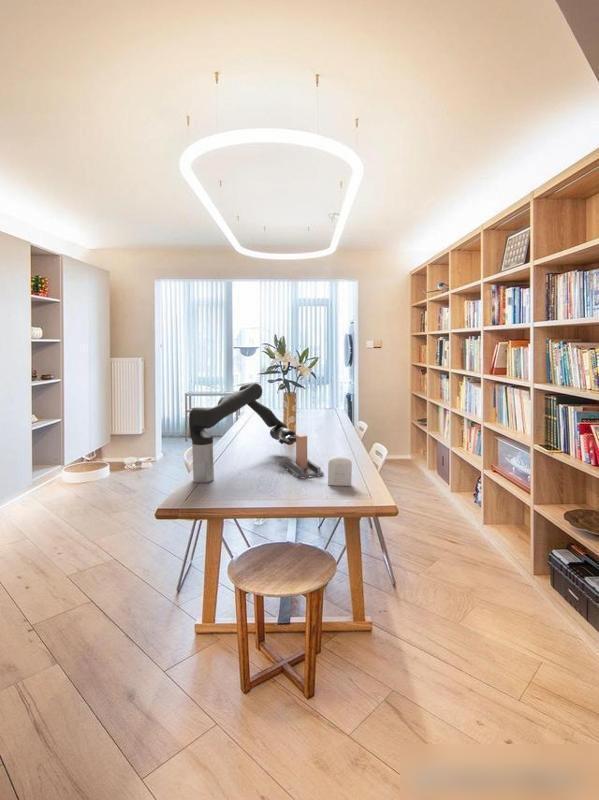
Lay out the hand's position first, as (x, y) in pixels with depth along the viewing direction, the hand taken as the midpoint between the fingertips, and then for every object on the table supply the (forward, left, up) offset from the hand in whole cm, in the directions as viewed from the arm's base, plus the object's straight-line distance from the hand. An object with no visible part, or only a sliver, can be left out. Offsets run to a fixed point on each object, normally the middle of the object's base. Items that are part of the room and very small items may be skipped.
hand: (297, 442), depth 210 cm
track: (-6, -3, -13) cm, 14 cm away
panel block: (-6, -3, -11) cm, 13 cm away
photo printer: (-26, -23, -13) cm, 37 cm away
